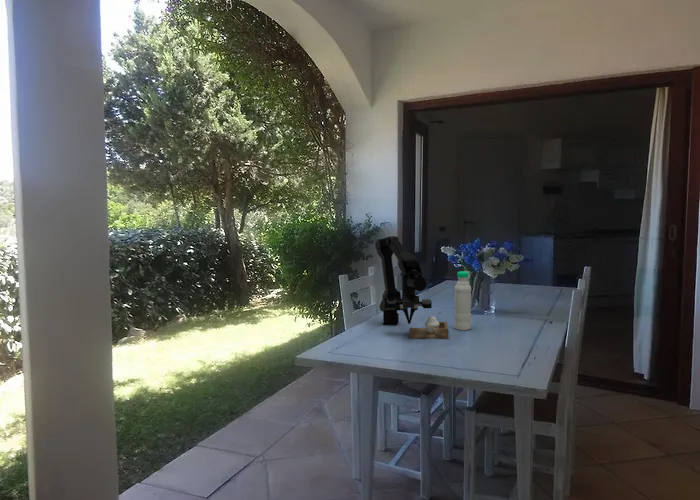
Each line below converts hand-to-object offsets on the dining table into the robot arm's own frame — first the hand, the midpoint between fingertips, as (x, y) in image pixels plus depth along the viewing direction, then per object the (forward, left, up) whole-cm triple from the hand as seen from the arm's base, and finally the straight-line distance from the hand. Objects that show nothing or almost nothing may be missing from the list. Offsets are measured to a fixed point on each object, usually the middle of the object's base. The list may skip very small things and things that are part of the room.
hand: (409, 323), depth 206 cm
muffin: (+10, 0, -4) cm, 10 cm away
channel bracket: (+8, 0, -4) cm, 9 cm away
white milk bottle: (+23, +10, -5) cm, 25 cm away
